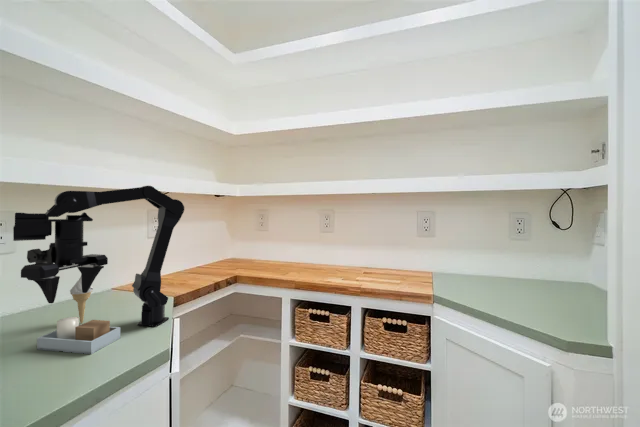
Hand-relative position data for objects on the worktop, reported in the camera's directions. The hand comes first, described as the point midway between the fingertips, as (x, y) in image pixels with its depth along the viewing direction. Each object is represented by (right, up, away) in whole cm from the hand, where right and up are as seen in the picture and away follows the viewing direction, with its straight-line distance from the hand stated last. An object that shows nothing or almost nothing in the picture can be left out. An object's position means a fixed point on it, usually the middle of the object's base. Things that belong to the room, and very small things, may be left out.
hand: (68, 297), depth 77 cm
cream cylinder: (-1, -11, 0) cm, 12 cm away
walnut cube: (+7, -12, -1) cm, 14 cm away
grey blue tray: (+3, -12, 0) cm, 12 cm away
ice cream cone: (-7, -12, +13) cm, 19 cm away
